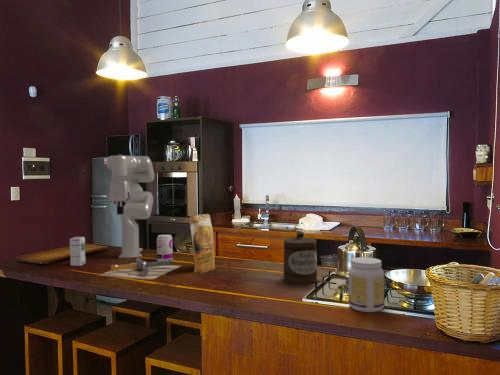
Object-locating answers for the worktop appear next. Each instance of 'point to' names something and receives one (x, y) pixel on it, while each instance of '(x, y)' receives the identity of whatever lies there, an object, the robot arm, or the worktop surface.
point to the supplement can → (164, 248)
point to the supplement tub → (366, 284)
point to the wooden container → (300, 259)
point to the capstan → (140, 265)
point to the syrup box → (77, 251)
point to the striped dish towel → (141, 272)
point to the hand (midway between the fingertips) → (120, 214)
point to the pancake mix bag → (202, 243)
